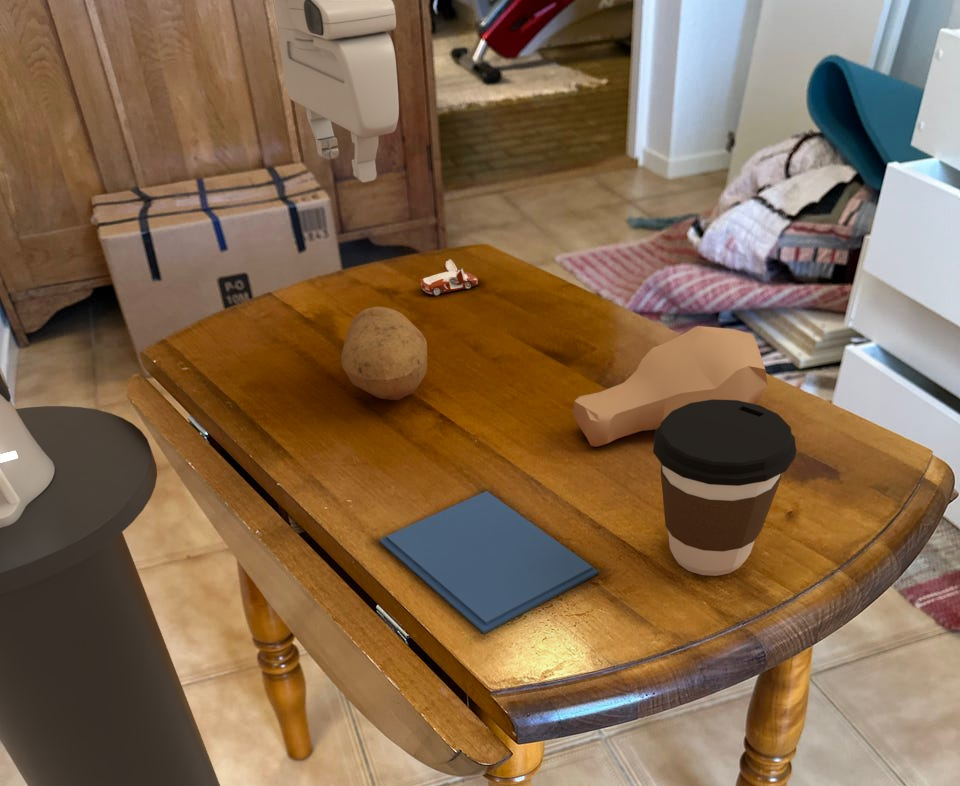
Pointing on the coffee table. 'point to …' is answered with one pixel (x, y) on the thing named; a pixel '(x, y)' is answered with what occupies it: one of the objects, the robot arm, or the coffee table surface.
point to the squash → (675, 383)
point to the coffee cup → (719, 479)
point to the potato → (384, 353)
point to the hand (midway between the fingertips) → (346, 168)
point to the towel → (487, 560)
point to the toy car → (448, 280)
